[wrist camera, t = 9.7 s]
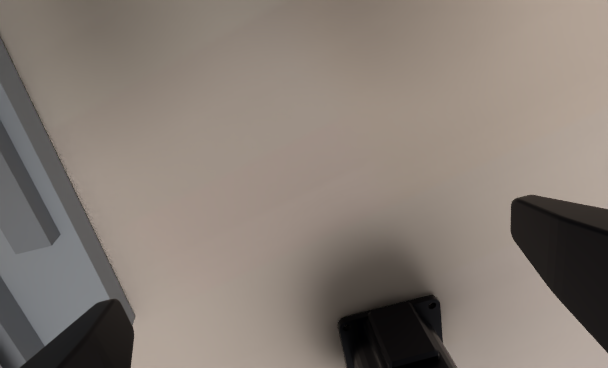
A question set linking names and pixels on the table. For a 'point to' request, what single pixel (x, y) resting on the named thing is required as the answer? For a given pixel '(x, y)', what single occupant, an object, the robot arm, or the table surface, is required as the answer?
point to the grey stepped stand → (41, 235)
